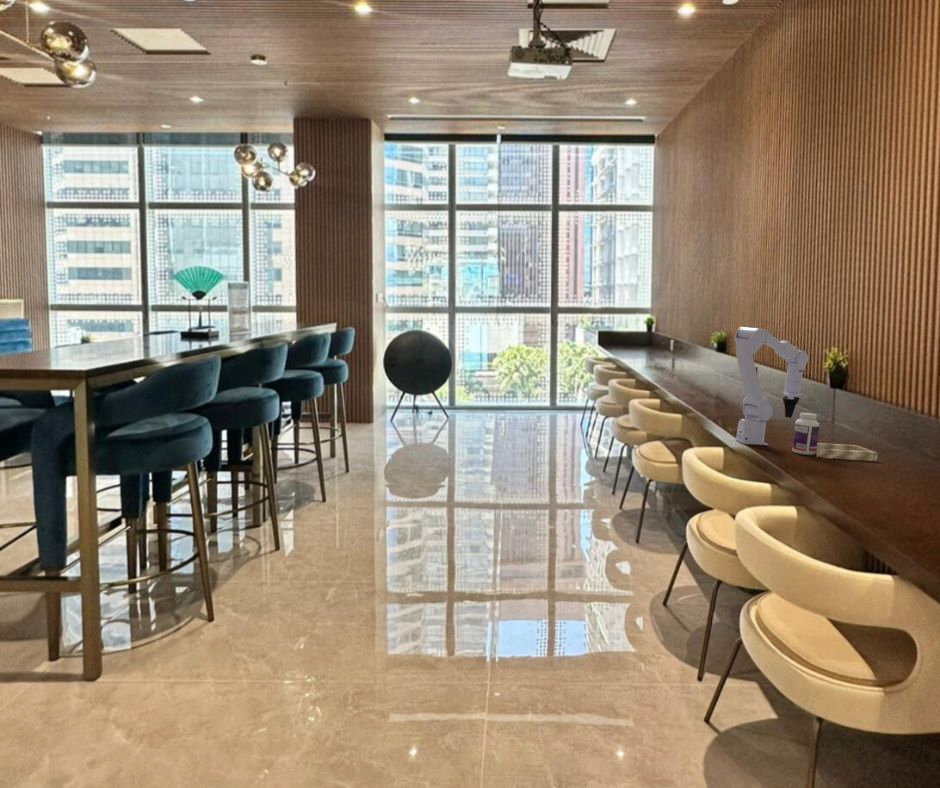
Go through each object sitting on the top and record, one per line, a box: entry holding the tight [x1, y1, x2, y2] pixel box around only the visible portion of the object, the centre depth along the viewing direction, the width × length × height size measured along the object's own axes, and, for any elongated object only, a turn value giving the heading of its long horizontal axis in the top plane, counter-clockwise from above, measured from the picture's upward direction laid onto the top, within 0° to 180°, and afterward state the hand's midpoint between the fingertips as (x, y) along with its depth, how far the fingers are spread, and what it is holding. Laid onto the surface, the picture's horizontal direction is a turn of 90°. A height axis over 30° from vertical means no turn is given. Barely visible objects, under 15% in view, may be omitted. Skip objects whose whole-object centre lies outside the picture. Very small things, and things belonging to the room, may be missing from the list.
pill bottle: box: [791, 412, 821, 456], centre depth 280 cm, size 8×8×14 cm
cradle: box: [815, 442, 879, 462], centre depth 282 cm, size 22×13×3 cm, turn 94°
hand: (788, 416), depth 301 cm, fingers open, 7 cm apart
